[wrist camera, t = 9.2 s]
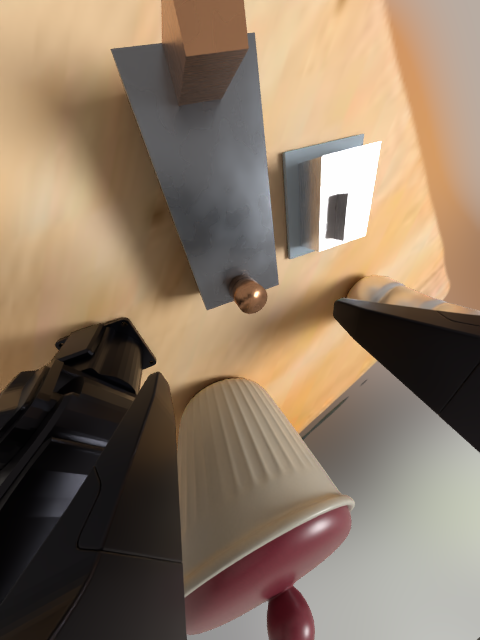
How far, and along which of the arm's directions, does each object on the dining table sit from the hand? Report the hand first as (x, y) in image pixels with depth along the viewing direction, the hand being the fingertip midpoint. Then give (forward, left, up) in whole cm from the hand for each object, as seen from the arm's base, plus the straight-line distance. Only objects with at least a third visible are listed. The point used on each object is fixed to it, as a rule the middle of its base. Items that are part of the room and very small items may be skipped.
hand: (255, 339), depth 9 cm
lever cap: (+3, -13, -12) cm, 18 cm away
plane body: (+5, -2, -12) cm, 13 cm away
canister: (-21, +4, -12) cm, 25 cm away
